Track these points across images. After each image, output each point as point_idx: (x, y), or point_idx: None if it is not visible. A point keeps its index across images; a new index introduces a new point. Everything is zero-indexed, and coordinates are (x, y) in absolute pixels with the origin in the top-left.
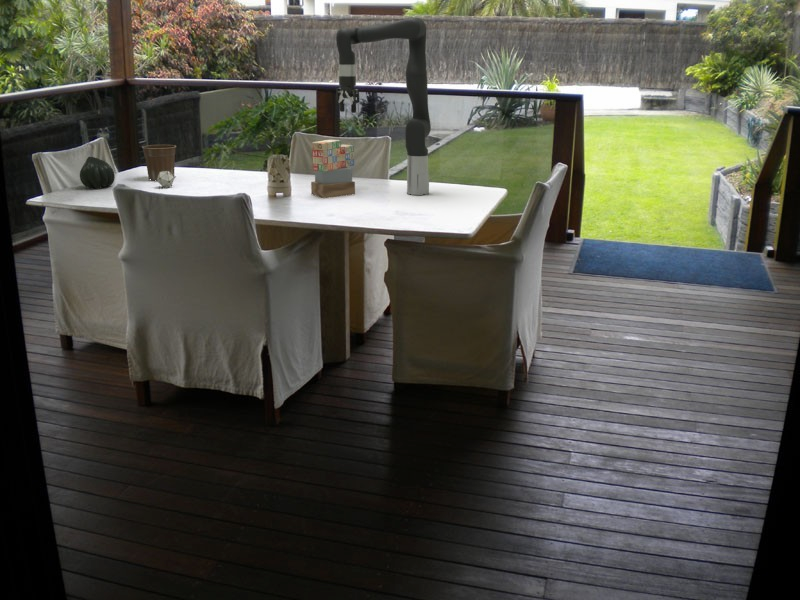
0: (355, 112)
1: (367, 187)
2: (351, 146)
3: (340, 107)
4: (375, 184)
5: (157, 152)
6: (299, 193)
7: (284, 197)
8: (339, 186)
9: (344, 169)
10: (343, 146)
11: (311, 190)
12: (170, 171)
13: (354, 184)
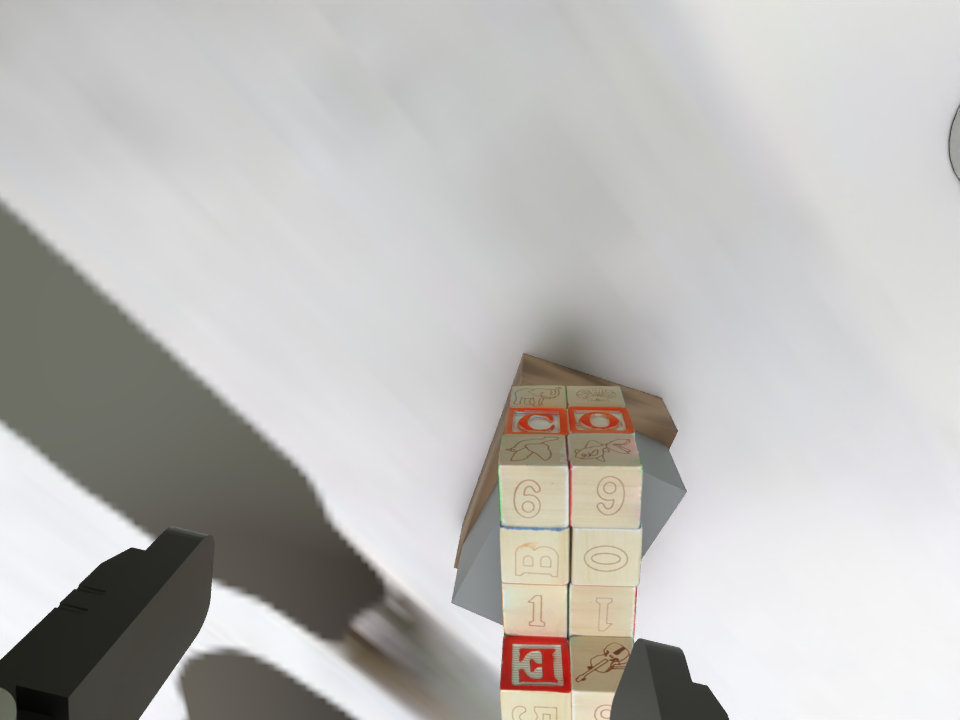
0: (673, 652)
1: (576, 152)
2: (637, 490)
3: (142, 700)
4: (545, 3)
5: None
6: (396, 537)
7: (420, 642)
8: None
9: (654, 537)
10: (615, 586)
11: (460, 536)
12: None
13: (672, 425)
